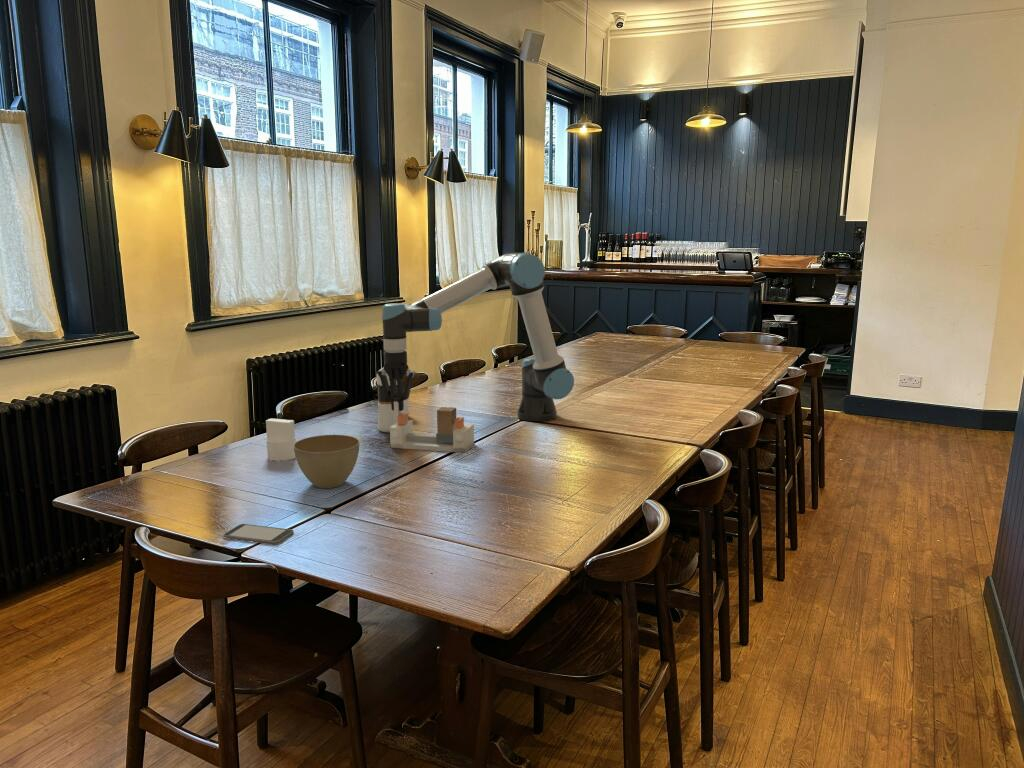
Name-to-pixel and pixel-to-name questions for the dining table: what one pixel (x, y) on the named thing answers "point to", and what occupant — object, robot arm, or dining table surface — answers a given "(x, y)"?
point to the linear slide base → (432, 438)
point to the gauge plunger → (402, 418)
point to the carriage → (445, 424)
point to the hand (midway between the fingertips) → (398, 419)
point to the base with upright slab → (280, 439)
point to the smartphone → (259, 534)
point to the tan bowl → (327, 458)
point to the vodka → (385, 407)
